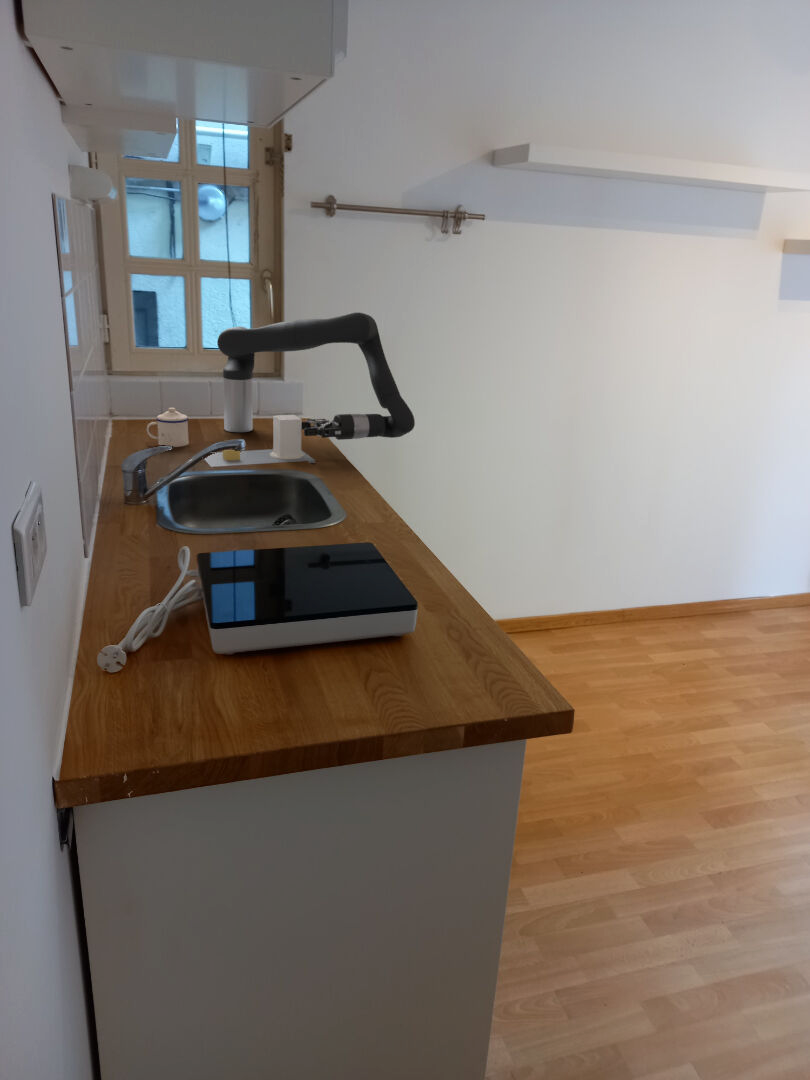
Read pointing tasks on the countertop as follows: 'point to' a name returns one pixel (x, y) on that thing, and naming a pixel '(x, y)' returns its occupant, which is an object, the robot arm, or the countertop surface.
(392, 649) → the countertop surface
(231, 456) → the block
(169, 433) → the teacup with lid
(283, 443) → the white tall block
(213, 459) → the board
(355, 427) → the robot arm
